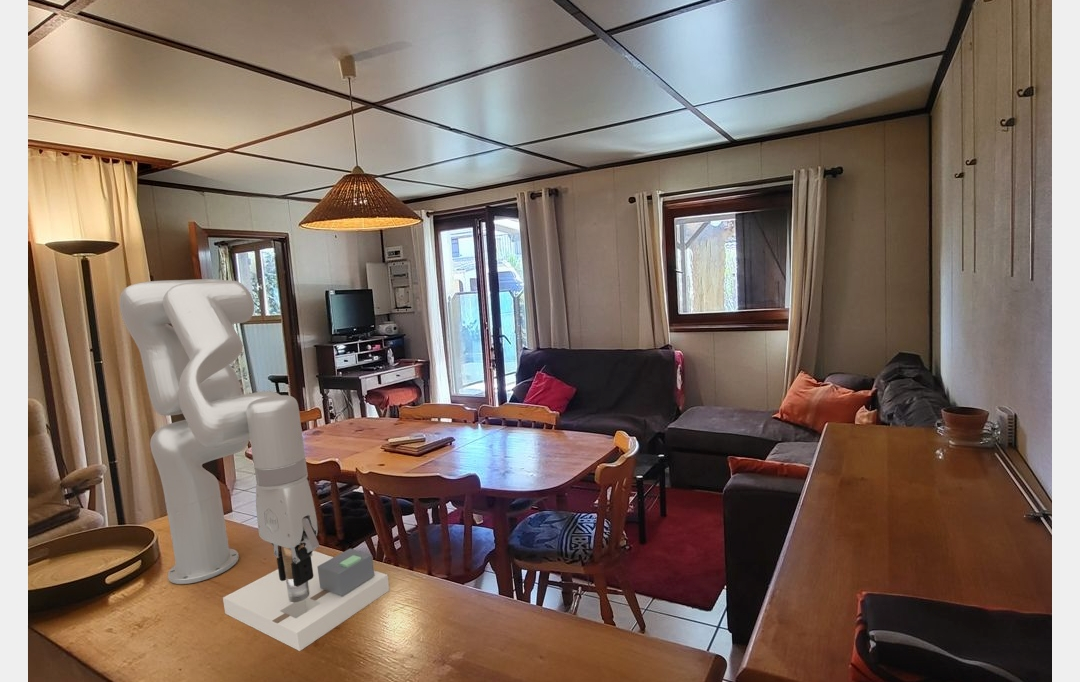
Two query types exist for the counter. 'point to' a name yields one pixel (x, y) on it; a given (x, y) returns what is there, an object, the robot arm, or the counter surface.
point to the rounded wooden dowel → (293, 591)
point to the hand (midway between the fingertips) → (296, 578)
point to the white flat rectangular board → (299, 606)
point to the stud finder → (345, 571)
